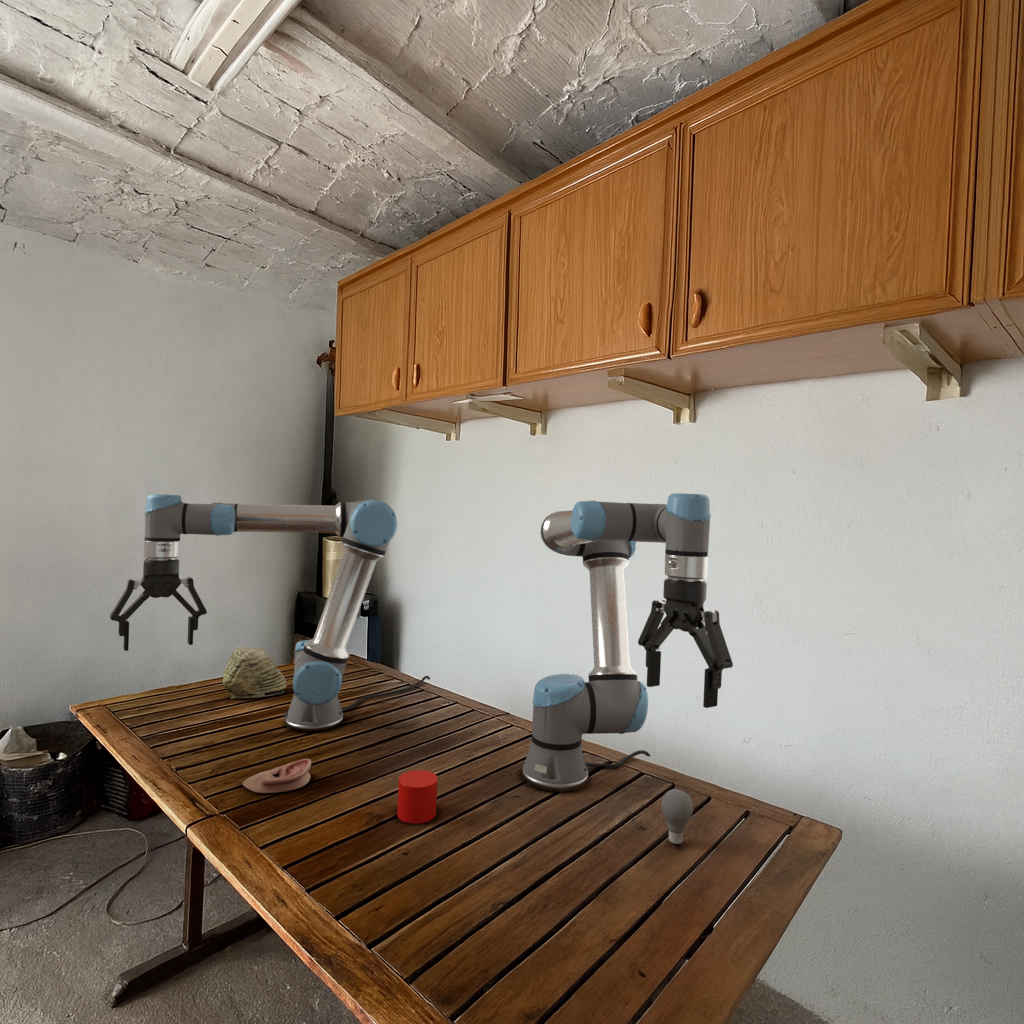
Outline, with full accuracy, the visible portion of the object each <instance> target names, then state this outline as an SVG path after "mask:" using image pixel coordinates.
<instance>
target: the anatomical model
mask: <svg viewBox="0 0 1024 1024" xmlns="http://www.w3.org/2000/svg"><path fill="white" fill-rule="evenodd" d="M311 766H312V760H311V759H310V758H303V759H299V760H295V761H291V762H289V763H286V764H283V765H281V766H280V765H279V766H277V767H275V768H271V769H269V770H264V771H261V772H258V773H256V774H253V775H252V776H250V777H247V778H246V779H244V780H243V781H242V783H241V785H242V786H243V787H244V788H245V789H248V790H250V791H252V792H254V793H258V794H271V793H272V794H273V793H274V794H275V793H283V792H289V791H294V790H296V789H300V788H302V787H304V786H305V785H307V784H308V783H309V782H310V780H311V777H312V776H311V774H310V772H309V771H310V770H311Z"/></svg>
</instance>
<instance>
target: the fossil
mask: <svg viewBox="0 0 1024 1024" xmlns="http://www.w3.org/2000/svg"><path fill="white" fill-rule="evenodd" d="M222 676H223V677H222V685H223V687H224V688H225V690H226V691H228V693H229V698H230V699H250V698H264V697H271V696H275V695H281V694H284V693H285V691H286V689H287V687H288V686H287V680H286V678H285V676H284V674H283V673H282V672H281V669H279V668H278V667H277V665H276V663H275V662H274V660H273V659H272V658H271V657H270V656H269V655H268V654H267V653H266V652H265V650H264V649H263V648H260V647H258V648H251V647H247V646H246V647H245V646H238V647H237V648H236V649H235V650H233V651H232V653H231V656H230V657H229V659H228V660H227V663H226V666H225V668H224V671H223V675H222Z"/></svg>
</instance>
